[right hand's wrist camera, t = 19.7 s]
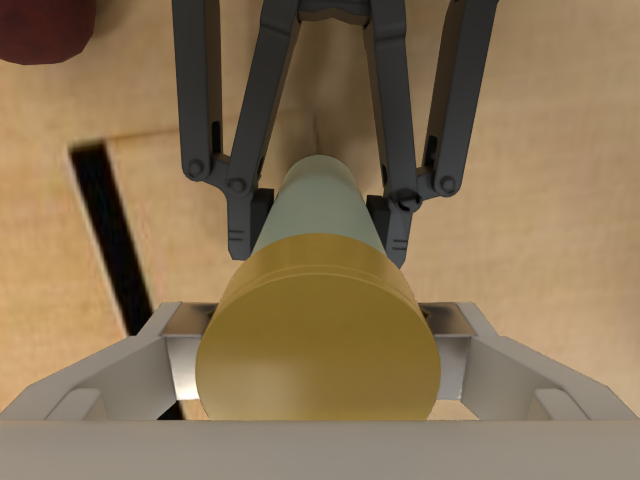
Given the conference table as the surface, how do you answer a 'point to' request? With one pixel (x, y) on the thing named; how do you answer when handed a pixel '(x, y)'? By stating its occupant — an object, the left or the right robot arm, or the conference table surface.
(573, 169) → the conference table surface
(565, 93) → the conference table surface
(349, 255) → the lid
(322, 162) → the jar
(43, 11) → the potato
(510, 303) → the conference table surface
